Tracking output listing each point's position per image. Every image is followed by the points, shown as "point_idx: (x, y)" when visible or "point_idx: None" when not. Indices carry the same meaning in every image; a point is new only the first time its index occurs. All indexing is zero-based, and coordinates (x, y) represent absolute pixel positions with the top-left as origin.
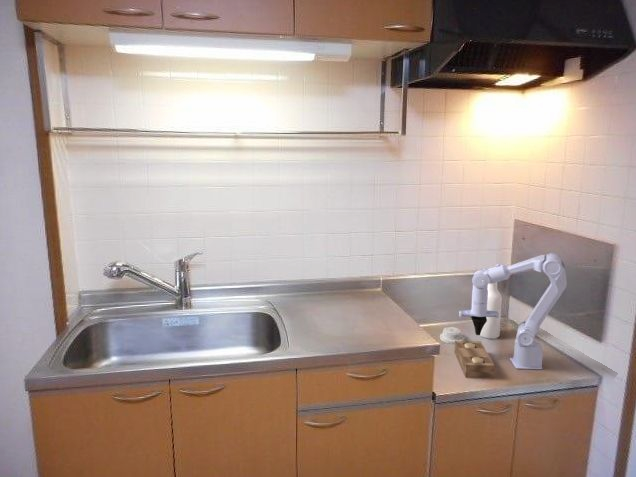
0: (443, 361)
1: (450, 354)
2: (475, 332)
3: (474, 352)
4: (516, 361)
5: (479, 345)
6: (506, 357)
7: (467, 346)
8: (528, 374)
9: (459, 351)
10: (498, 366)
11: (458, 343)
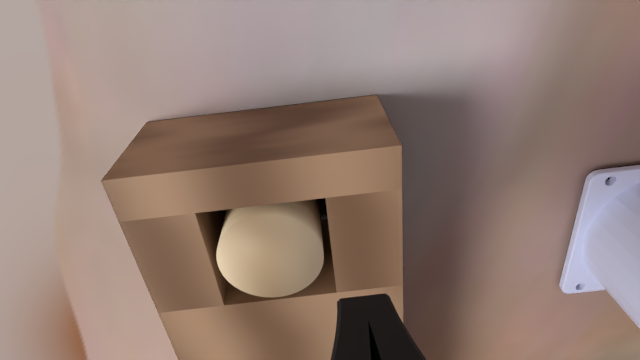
0: (88, 273)
1: None
2: (338, 317)
3: (299, 357)
4: (598, 278)
5: (367, 241)
6: (576, 143)
7: (244, 288)
8: (595, 323)
9: (177, 348)
10: (457, 273)
11: (151, 235)
